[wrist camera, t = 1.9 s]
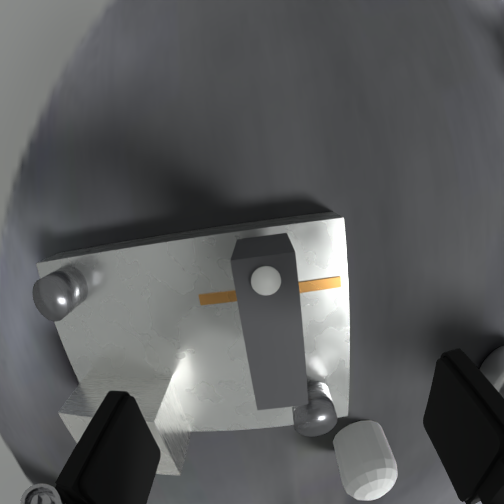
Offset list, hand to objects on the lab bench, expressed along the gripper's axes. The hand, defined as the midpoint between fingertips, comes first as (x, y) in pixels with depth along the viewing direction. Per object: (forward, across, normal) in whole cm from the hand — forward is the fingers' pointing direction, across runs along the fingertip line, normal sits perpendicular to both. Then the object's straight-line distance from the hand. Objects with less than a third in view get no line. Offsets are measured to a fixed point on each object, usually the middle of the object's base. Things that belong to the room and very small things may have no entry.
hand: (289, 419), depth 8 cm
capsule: (+15, -6, +20) cm, 25 cm away
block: (+12, 0, +1) cm, 12 cm away
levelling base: (+14, +6, +5) cm, 17 cm away
